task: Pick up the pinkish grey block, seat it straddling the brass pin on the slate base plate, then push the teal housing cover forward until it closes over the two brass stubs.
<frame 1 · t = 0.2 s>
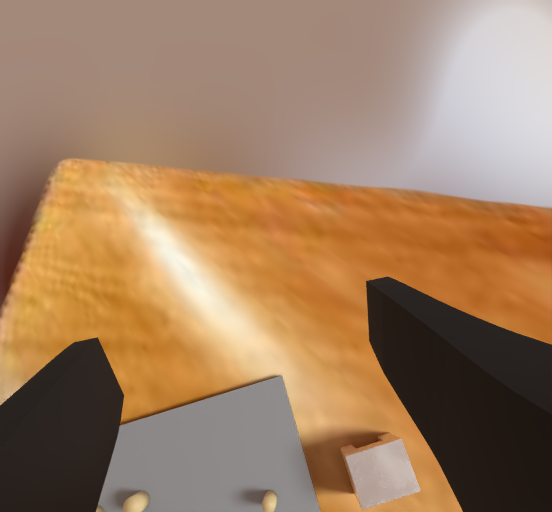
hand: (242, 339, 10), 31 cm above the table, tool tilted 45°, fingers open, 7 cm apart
pinkish grey block: (371, 462, 36), on the table
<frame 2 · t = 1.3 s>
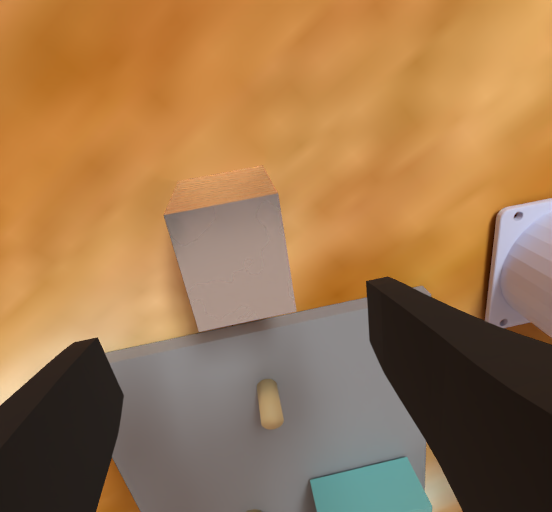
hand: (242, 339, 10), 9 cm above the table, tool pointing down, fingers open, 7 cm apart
base plate: (283, 459, 26), on the table
pinkish grey block: (231, 222, 18), on the table
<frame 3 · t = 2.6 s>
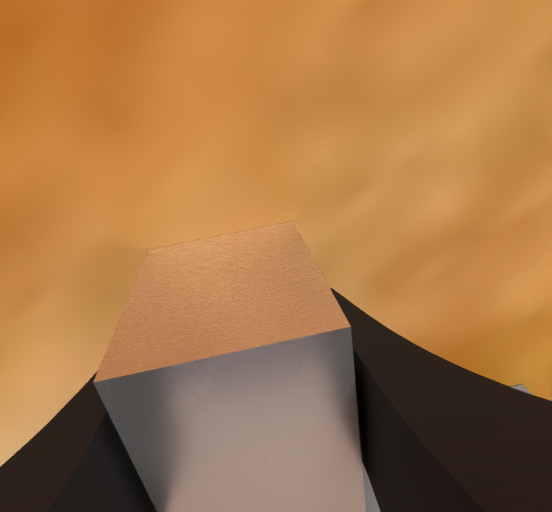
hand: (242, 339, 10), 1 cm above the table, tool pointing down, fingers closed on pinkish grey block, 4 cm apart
pinkish grey block: (239, 310, 11), on the table, touching gripper
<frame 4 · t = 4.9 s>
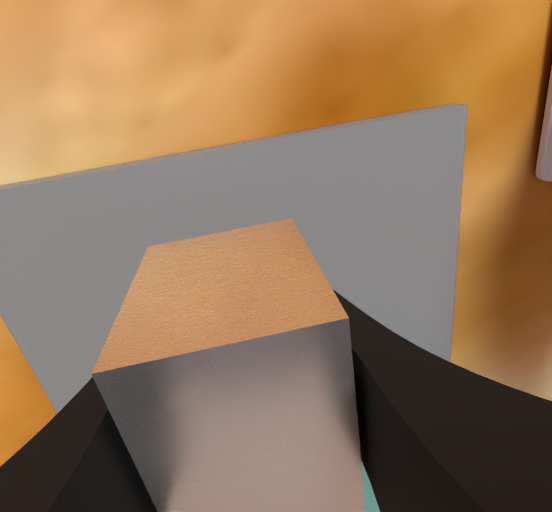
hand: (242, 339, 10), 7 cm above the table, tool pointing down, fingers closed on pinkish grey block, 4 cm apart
base plate: (263, 374, 20), on the table
housing: (377, 474, 20), point 3 cm above the table, slide at 8.0 cm
pinkish grey block: (238, 307, 11), point 6 cm above the table, touching gripper
when the fingers open (4 cm above the table, at t = 5.8 s): pinkish grey block drops 1 cm, resting on base plate.
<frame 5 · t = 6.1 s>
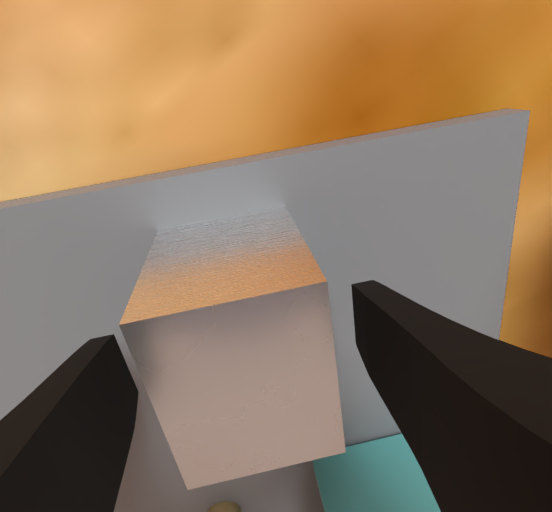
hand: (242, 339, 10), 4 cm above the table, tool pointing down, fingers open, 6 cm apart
base plate: (270, 424, 17), on the table
pinkish grey block: (238, 286, 13), point 1 cm above the table, touching base plate
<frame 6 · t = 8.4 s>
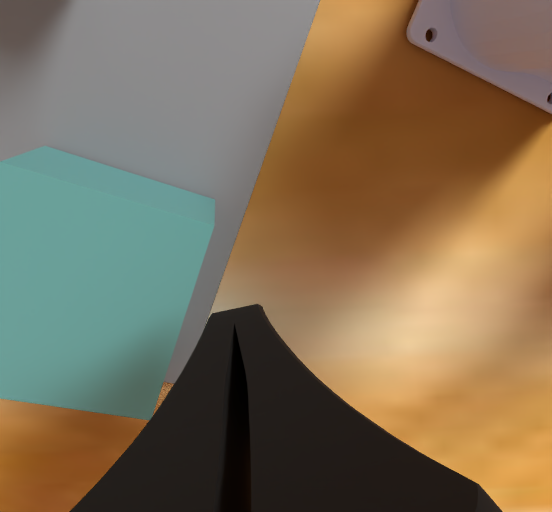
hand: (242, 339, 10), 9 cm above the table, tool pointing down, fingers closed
base plate: (20, 104, 15), on the table
housing: (101, 292, 16), point 3 cm above the table, slide at 8.0 cm
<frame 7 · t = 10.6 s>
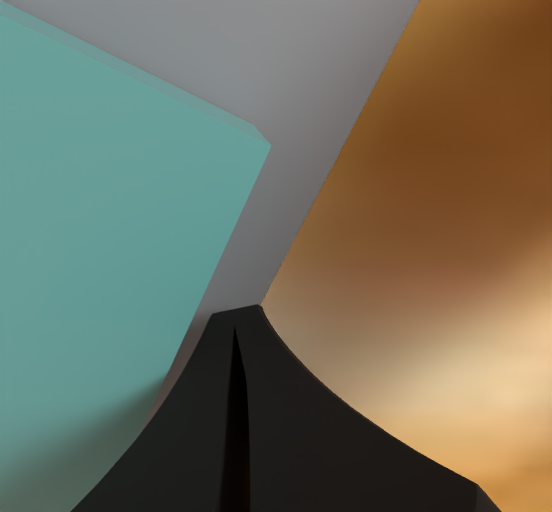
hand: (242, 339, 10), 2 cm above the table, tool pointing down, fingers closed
housing: (15, 282, 8), point 3 cm above the table, slide at 7.1 cm, touching gripper
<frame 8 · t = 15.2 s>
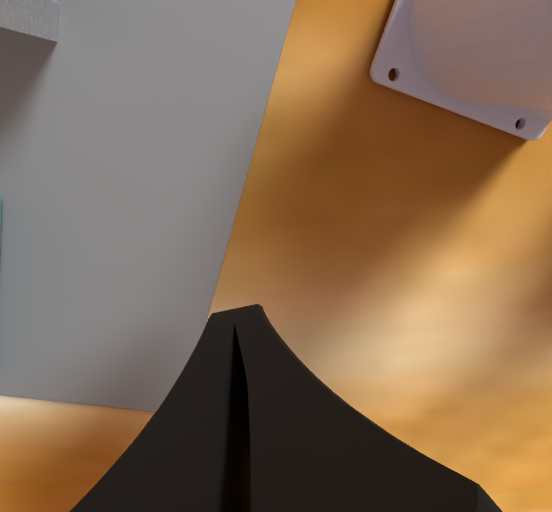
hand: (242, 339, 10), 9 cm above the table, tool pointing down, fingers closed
base plate: (4, 167, 16), on the table
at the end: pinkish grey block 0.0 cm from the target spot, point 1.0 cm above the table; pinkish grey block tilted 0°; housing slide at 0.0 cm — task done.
